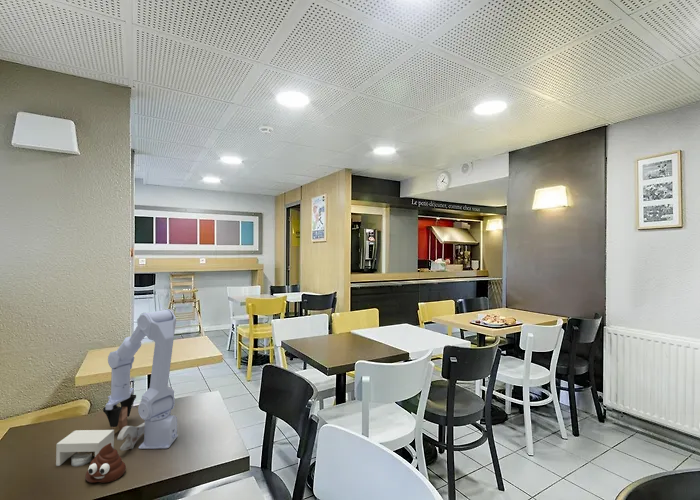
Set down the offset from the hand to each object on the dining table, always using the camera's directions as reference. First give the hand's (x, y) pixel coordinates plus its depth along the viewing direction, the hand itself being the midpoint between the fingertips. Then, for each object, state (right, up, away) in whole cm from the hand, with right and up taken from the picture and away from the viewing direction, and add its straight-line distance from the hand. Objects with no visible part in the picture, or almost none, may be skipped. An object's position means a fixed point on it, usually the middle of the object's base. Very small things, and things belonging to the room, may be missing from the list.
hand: (120, 421), depth 131 cm
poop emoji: (+13, -3, -27) cm, 30 cm away
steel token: (+1, -3, -20) cm, 21 cm away
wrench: (+12, -3, -4) cm, 13 cm away
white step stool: (+1, -3, -19) cm, 19 cm away
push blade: (0, -3, -8) cm, 8 cm away
